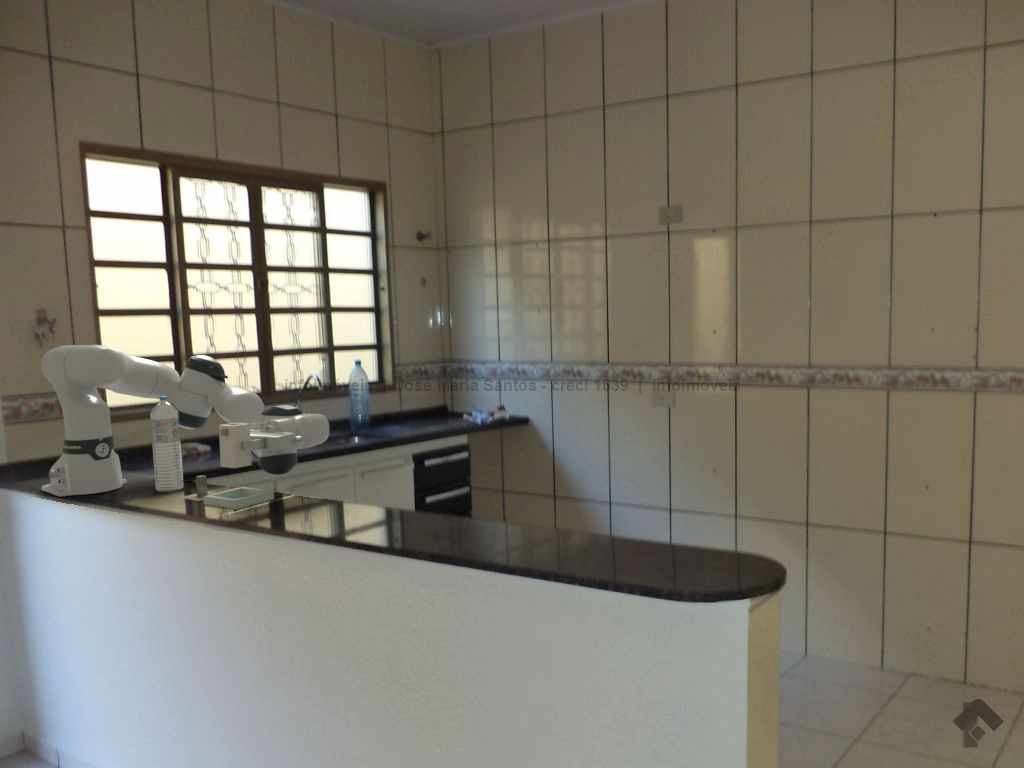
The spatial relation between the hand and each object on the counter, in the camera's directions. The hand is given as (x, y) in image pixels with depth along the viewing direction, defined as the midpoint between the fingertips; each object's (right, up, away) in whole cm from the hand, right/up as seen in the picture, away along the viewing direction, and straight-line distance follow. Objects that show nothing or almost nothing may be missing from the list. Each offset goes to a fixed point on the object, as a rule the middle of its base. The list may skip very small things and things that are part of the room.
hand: (233, 445), depth 200 cm
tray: (+1, -14, +2) cm, 15 cm away
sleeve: (0, -5, +1) cm, 5 cm away
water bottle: (-23, -14, +20) cm, 34 cm away
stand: (-11, -14, +10) cm, 20 cm away
